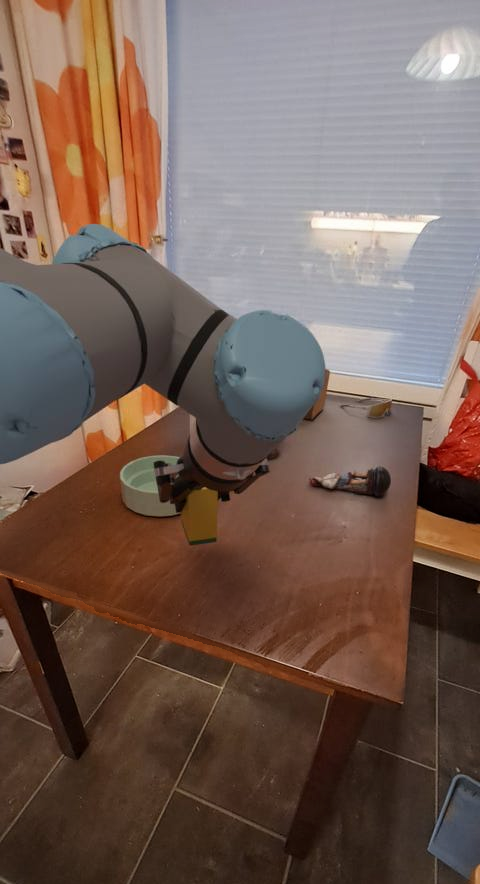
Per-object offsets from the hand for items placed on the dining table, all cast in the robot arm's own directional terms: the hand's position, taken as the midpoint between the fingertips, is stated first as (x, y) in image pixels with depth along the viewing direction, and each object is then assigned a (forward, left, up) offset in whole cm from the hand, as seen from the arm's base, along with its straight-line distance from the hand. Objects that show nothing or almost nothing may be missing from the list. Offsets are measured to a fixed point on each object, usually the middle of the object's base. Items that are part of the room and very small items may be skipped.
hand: (192, 502), depth 63 cm
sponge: (+2, -4, -3) cm, 5 cm away
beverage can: (-5, +51, -14) cm, 53 cm away
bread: (+12, +87, -14) cm, 89 cm away
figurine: (+30, +33, -14) cm, 47 cm away
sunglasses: (+45, +90, -14) cm, 102 cm away
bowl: (-10, +22, -14) cm, 28 cm away
